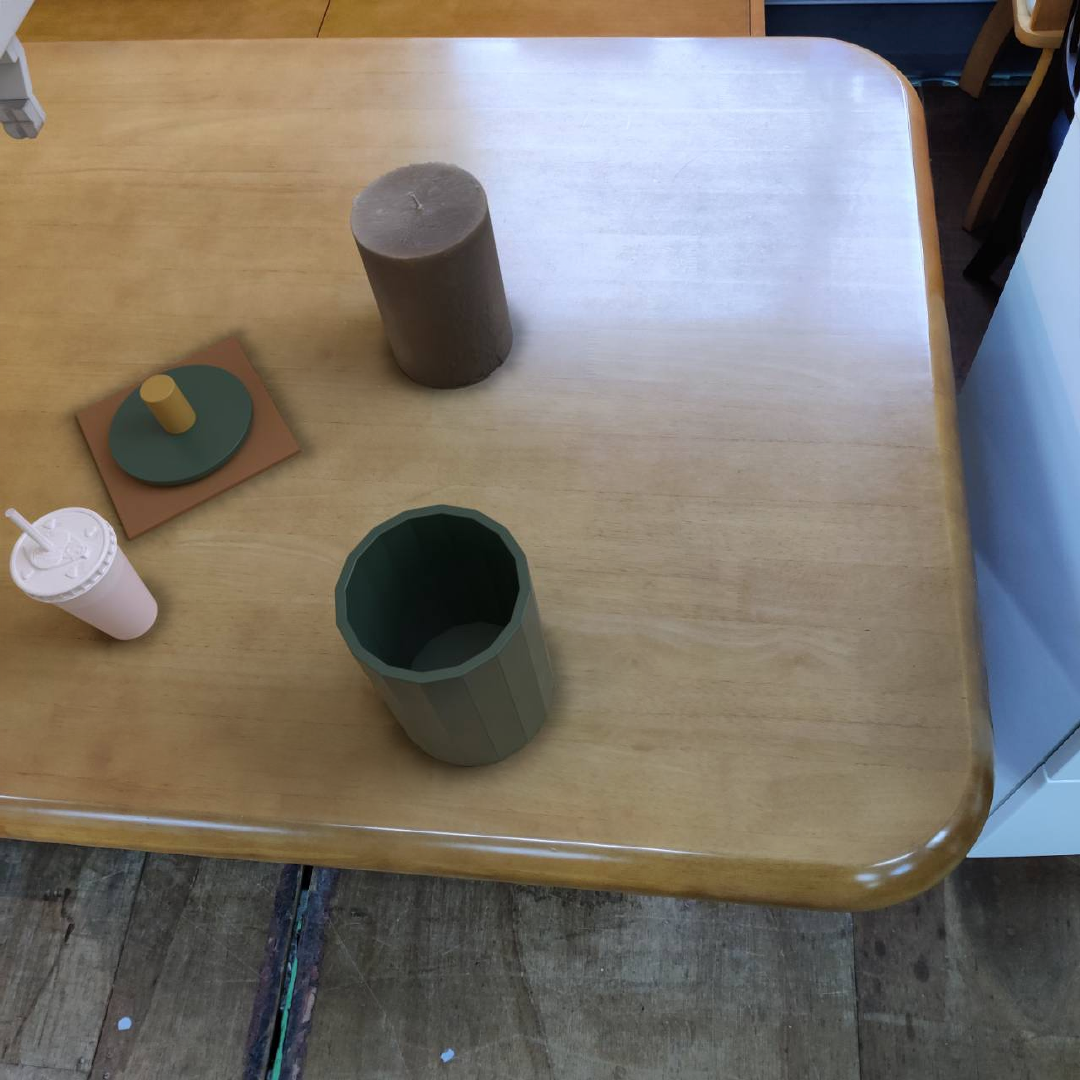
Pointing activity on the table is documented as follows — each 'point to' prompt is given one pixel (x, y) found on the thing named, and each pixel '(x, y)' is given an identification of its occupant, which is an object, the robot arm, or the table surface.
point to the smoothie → (81, 571)
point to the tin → (449, 632)
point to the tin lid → (181, 425)
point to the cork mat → (161, 504)
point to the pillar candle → (434, 272)
